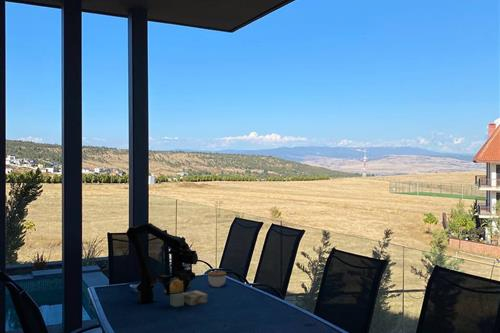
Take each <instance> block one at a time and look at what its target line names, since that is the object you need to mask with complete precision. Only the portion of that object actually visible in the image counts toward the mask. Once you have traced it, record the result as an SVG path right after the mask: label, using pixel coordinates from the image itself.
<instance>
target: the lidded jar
mask: <svg viewBox="0 0 500 333" xmlns="http://www.w3.org/2000/svg"><path fill="white" fill-rule="evenodd" d="M207 278H208V279H207V280H208V283H209V284H210V285H211V287H212V288H221V286H222V287H223V286H224V285H225V283H226V281H227V272H226V271H223V270H219V269H216V270H212V271H208V273H207Z"/></svg>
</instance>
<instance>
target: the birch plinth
mask: <svg viewBox="0 0 500 333" xmlns="http://www.w3.org/2000/svg"><path fill="white" fill-rule="evenodd" d="M180 294H182V295H184V304H186V305H189V306H195V305H200V304H205V303H208V293H206V292H203V291H200V290H191V291H186V293H184V292H180Z"/></svg>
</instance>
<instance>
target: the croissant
mask: <svg viewBox="0 0 500 333" xmlns="http://www.w3.org/2000/svg"><path fill="white" fill-rule="evenodd" d="M170 283H171V284H170V295H173V294H178V293H179V294H181V293H184V289H183V281H180V280H179V279H173V280H172V281H170ZM190 286H191V282H190V283H189V285H188V288H189V287H190ZM164 294H167V292H166V290H165V289H164ZM167 295H168V294H167Z"/></svg>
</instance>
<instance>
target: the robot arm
mask: <svg viewBox="0 0 500 333" xmlns="http://www.w3.org/2000/svg"><path fill="white" fill-rule="evenodd" d="M125 233H126V237H127V238H128V240H129V242H130V243H131V245H133V248H134V252H135V255H136V260H137V262H138V265H139V269H140V276H139V278H140V283H138V285H137V286H136V287H135V288H136V292H138V299H137V300H136V301H137V302H138V303H141V304H148V303H153V302H155V301H154V291H153V289H154V288H155V286H156V284H157V282H159V283H160V284H162V285H163V287H164V291H165V290H166V292H167V296H168V297H170V295H171V294H170V284H171V280H172V281H173V280H175V279H179V280H180V281H183V289H184V291H183V293H186V292H187V290H188V288H189V287H188V285H189V283H190V284H191V282H192V281H193V280H194V279H196V273H195V272H193V271H192V269H190V268H188V269H185V265H197V264H198V261H199V256H198V253H197V251H196V250H190V249H189V248H188V246H187V245H186V243H185V239H184V238H183V237H180V236H177V235H172V234H170V233H168V232H167V231H165V230H163V229H161V228H159V227H157V226H156V225H154V224H153V223H152V222H148V223H144V224H142V225H139V226H138V225H136V226H131V227H129V228H127V229H126V232H125ZM145 233H148V234H150V235H152V236H153V237H155V238H157V239H159V240H161V241H162V242H164V243H165V244H166V246H167V247H168V248H170V250H169V251H168V252H167V254H168V255H171V264H170V265H169V267H170V268H171V270H170V273H169V275H167V274H162V275H161V274H160V275H159V276H157V271H156V270H152V269H151V266H150V263H149V260H148V257H147V256H148V255H147V252H146V250H145V245H144V234H145Z"/></svg>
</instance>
